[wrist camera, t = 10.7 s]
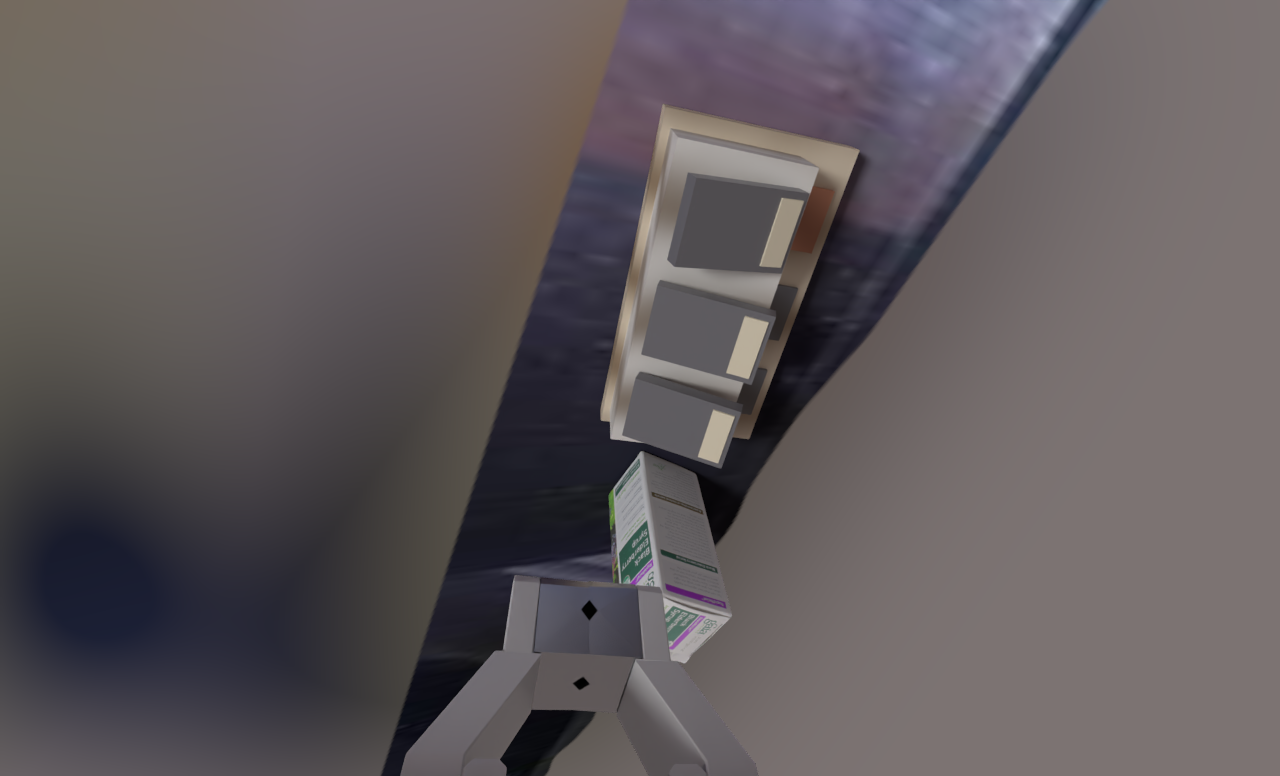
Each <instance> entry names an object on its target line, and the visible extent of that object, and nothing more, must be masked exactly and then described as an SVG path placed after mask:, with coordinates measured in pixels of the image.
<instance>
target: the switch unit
mask: <svg viewBox="0 0 1280 776" xmlns="http://www.w3.org/2000/svg"><path fill="white" fill-rule="evenodd" d="M859 151H860V150H858V149H856V148H853V147H851V146H848V145H843V144H839V143H835V142H830V141H826V140H821V139H817V138H812V137H808V136H804V135H799V134H795V133H790V132H786V131H781V130H777V129H772V128H768V127H764V126H759V125H755V124H750V123H746V122H741V121H737V120H732V119H728V118H724V117H719V116H715V115H710V114H706V113H701V112H697V111H693V110H688V109H684V108H679V107H675V106H670V105H666V104H663V106H662V111H661V116H660V121H659V126H658V131H657V136H656V140H655V145H654V150H653V155H652V160H651V165H650V170H649V175H648V180H647V185H646V190H645V194H644V199H643V204H642V209H641V214H640V219H639V224H638V229H637V234H636V239H635V243H634V248H633V253H632V258H631V263H630V268H629V273H628V278H627V283H626V288H625V292H624V297H623V302H622V307H621V312H620V317H619V322H618V327H617V332H616V337H615V342H614V346H613V351H612V356H611V361H610V366H609V371H608V376H607V381H606V386H605V391H604V395H603V400H602V405H601V420H602V421H610V432H611V439H616V440H625V441H633V442H640V441H637V440H634V439H631V438H628V437H625V436H622V433H623V429H624V425H625V420H626V416H627V412H628V408H629V403H630V399H631V395H632V390H633V386H634V382H635V378H636V376H637V375H638V373H639V372H643V373H646V374H649V375H652V376H655V377H658V378H661V379H664V380H668V381H671V382H674V383H677V384H680V385H683V386H686V387H690V388H693V389H696V390H699V391H702V392H705V393H708V394H711V395H715V396H718V397H721V398H724V399H727V400H730V401H733V402H736V403H740V404H743V407H742V412H741V415H740V418H739V420H738V423H737V426H736V429H735V431H734V434H733V437H736V438H744V439H749V438H750V435H751V433H752V430H753V427H754V425H755V422H756V420H757V417H758V414H759V412H760V409H761V407H762V404H763V401H764V399H765V396H766V394H767V391H768V388H769V386H770V383H771V380H772V378H773V375H774V373H775V370H776V367H777V365H778V362H779V360H780V357H781V354H782V352H783V349H784V347H785V344H786V341H787V339H788V336H789V333H790V331H791V328H792V326H793V323H794V320H795V318H796V315H797V313H798V310H799V307H800V305H801V302H802V300H803V297H804V294H805V292H806V289H807V287H808V284H809V281H810V279H811V276H812V273H813V271H814V268H815V266H816V263H817V260H818V258H819V255H820V253H821V250H822V247H823V245H824V242H825V240H826V237H827V234H828V232H829V229H830V226H831V224H832V221H833V219H834V216H835V213H836V211H837V208H838V206H839V203H840V200H841V198H842V195H843V193H844V190H845V187H846V185H847V182H848V179H849V177H850V174H851V172H852V169H853V166H854V164H855V161H856V159H857V156H858V153H859ZM688 172H689V173H696V174H703V175H710V176H717V177H724V178H731V179H738V180H745V181H752V182H759V183H766V184H773V185H780V186H787V187H794V188H800V189H802V190H804V191H806V192H808V193H810V194H809V197H808V200H807V203H806V206H805V208H804V211H803V214H802V217H801V220H800V223H799V225H798V228H797V231H796V234H795V237H794V240H793V242H792V245H791V248H790V251H789V254H788V257H787V259H786V262H785V265H784V268H783V271H782V274H777V273H761V272H746V271H730V270H714V269H698V268H682V267H674V266H673V265H672V264H671V263H670V262H669V261H668V260H667V258H668V254H669V250H670V245H671V241H672V237H673V233H674V229H675V225H676V220H677V216H678V212H679V208H680V204H681V199H682V195H683V191H684V187H685V183H686V178H687V174H688ZM660 280H663V281H667V282H670V283H674V284H678V285H681V286H685V287H689V288H693V289H696V290H700V291H704V292H708V293H711V294H715V295H719V296H723V297H726V298H730V299H734V300H738V301H741V302H745V303H749V304H753V305H756V306H760V307H764V308H768V309H771V310H775V311H776V319H775V322H774V325H773V327H772V330H771V333H770V336H769V338H768V341H767V344H766V347H765V349H764V352H763V355H762V358H761V360H760V363H759V366H758V369H757V371H756V374H755V377H754V380H753V382H752V385H750V384H746V383H742V382H739V381H735V380H732V379H728V378H724V377H721V376H717V375H713V374H710V373H706V372H703V371H699V370H695V369H692V368H688V367H684V366H681V365H677V364H674V363H670V362H666V361H663V360H659V359H655V358H652V357H648V356H645V355H641V353H642V348H643V344H644V340H645V336H646V331H647V327H648V323H649V318H650V314H651V310H652V306H653V301H654V297H655V293H656V289H657V285H658V283H659V281H660ZM641 443H643V442H641Z"/></svg>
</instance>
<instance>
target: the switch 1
mask: <svg viewBox="0 0 1280 776" xmlns="http://www.w3.org/2000/svg"><path fill="white" fill-rule="evenodd" d="M809 194H810V193H808V192H806V191H804V190H802V189H800V188H794V187H787V186H780V185H773V184H766V183H759V182H752V181H745V180H738V179H731V178H724V177H717V176H710V175H703V174H696V173H689V172H688V174H687V178H686V183H685V187H684V191H683V195H682V199H681V204H680V208H679V212H678V216H677V220H676V225H675V229H674V233H673V237H672V241H671V245H670V250H669V254H668V258H667V260H668V261H669V262H670V263H671V264H672V265H673V266H674V267H682V268H698V269H714V270H730V271H746V272H761V273H777V274H782V271H783V268H784V265H785V262H786V259H787V257H788V254H789V251H790V248H791V245H792V242H793V240H794V237H795V234H796V231H797V228H798V225H799V223H800V220H801V217H802V214H803V211H804V208H805V206H806V203H807V200H808V197H809Z"/></svg>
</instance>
